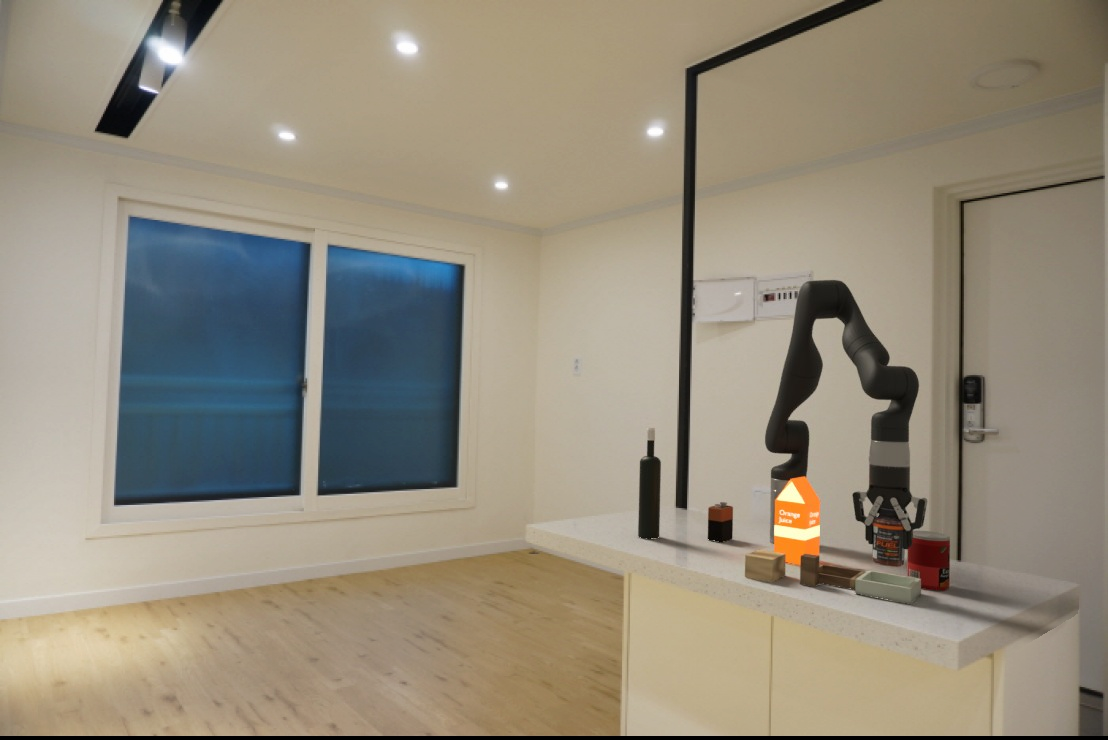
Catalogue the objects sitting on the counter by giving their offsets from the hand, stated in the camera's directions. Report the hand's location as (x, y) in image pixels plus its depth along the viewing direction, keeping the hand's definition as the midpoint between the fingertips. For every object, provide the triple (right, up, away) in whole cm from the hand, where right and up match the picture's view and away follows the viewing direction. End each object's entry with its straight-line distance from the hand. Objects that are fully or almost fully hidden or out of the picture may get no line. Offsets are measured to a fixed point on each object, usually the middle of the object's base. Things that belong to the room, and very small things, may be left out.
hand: (888, 545), depth 143 cm
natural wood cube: (-22, -10, +11) cm, 26 cm away
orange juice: (-9, -11, +27) cm, 30 cm away
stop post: (-14, -9, +5) cm, 18 cm away
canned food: (+12, -10, +7) cm, 17 cm away
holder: (-7, -10, +9) cm, 15 cm away
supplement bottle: (0, -4, 0) cm, 4 cm away
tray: (0, -10, 0) cm, 10 cm away
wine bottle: (-42, -10, +50) cm, 66 cm away
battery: (-23, -11, +49) cm, 55 cm away
